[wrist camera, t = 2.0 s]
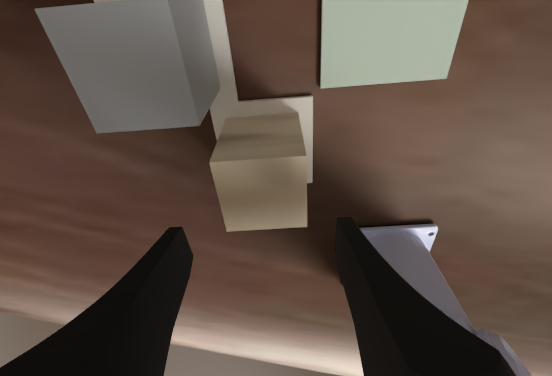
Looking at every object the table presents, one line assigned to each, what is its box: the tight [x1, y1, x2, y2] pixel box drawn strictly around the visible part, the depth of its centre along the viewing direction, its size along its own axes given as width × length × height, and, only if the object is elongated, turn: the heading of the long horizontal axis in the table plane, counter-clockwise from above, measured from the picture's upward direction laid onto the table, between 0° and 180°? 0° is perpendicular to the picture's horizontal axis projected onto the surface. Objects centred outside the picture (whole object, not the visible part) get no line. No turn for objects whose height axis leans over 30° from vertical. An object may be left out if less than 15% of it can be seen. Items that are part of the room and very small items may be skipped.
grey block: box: [34, 0, 220, 133], centre depth 14 cm, size 5×5×6 cm
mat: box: [320, 0, 468, 88], centre depth 15 cm, size 8×8×1 cm
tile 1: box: [93, 0, 239, 104], centre depth 16 cm, size 7×7×1 cm
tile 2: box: [210, 95, 313, 183], centre depth 20 cm, size 7×7×1 cm
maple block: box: [209, 113, 307, 232], centre depth 18 cm, size 5×5×6 cm
